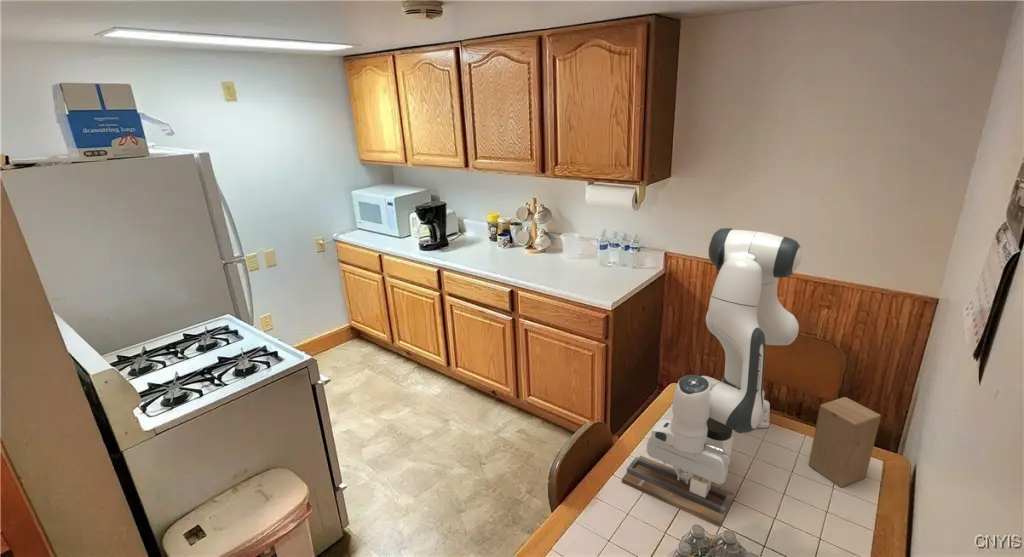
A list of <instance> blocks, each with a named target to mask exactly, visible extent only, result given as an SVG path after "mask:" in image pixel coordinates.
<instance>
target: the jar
mask: <svg viewBox="0 0 1024 557" xmlns="http://www.w3.org/2000/svg"><path fill="white" fill-rule="evenodd" d="M707 427H708V432H707V441H706V443H707V444H710V445H713V446H715V447H717V448H721V449H723V450H724V452H726V453H727V454H728V455H729V457H730V458H731V455H732V449H733V442H734V441H733V440H734V435H733V430H732V429H731V428H729V427H727V426H726V425H724V424H722V423H720V422H718V421H716V420H714V419H712V418H710V417H709V418H708V420H707ZM730 463H731V460H730V461H729V464H730Z"/></svg>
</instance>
